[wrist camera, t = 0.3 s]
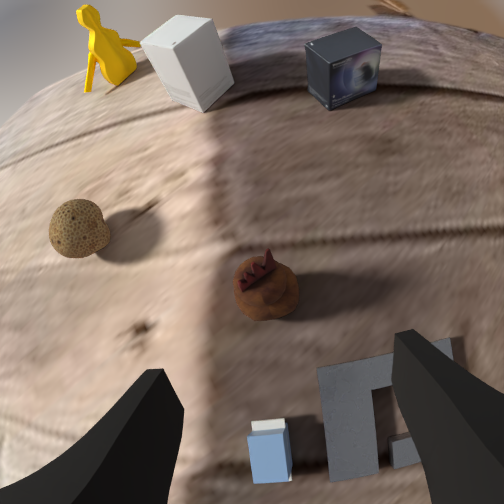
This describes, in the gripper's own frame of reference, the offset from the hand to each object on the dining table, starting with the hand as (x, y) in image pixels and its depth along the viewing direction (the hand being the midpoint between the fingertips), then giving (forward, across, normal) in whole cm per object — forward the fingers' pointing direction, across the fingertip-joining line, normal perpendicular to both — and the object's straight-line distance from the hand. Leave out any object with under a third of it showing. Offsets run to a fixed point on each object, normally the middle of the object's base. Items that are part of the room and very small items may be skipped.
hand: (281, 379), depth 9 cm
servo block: (+15, +4, +26) cm, 31 cm away
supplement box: (+54, +8, -15) cm, 56 cm away
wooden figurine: (+27, +2, +13) cm, 30 cm away
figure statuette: (+64, +27, -26) cm, 75 cm away
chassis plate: (+16, -10, +25) cm, 31 cm away
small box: (+48, -15, -10) cm, 52 cm away
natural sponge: (+36, +28, +4) cm, 46 cm away
